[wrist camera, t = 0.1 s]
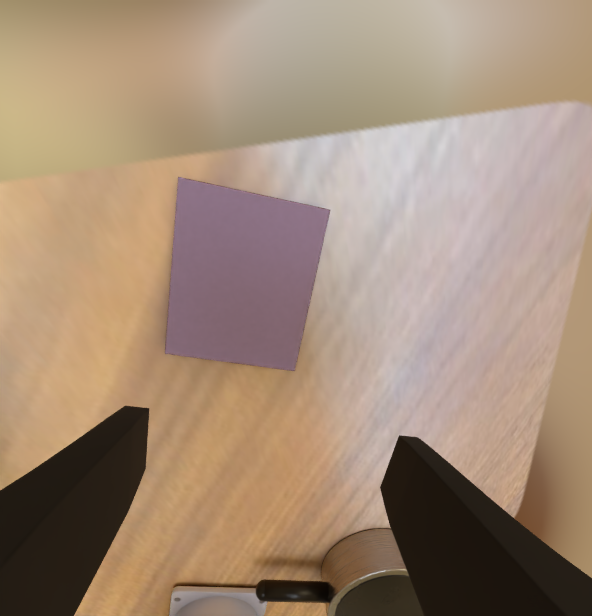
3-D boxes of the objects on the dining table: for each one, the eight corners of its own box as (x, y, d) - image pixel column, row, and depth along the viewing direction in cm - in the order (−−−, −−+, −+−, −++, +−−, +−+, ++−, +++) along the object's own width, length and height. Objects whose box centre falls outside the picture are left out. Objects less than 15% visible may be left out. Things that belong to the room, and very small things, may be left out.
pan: (403, 600, 27) (419, 645, 25) (248, 596, 25) (245, 645, 23) (435, 531, 25) (457, 572, 22) (265, 520, 23) (265, 565, 20)
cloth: (294, 369, 19) (294, 371, 19) (166, 351, 18) (164, 353, 18) (329, 209, 16) (330, 210, 16) (180, 177, 15) (178, 176, 15)
